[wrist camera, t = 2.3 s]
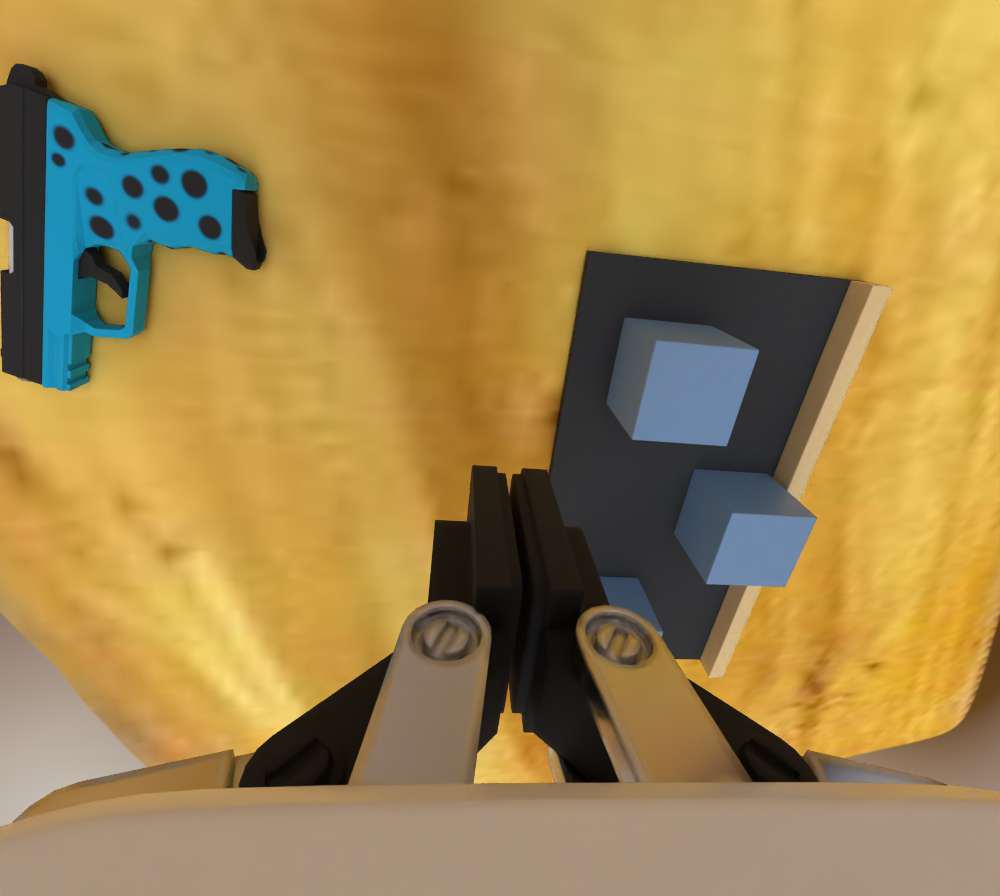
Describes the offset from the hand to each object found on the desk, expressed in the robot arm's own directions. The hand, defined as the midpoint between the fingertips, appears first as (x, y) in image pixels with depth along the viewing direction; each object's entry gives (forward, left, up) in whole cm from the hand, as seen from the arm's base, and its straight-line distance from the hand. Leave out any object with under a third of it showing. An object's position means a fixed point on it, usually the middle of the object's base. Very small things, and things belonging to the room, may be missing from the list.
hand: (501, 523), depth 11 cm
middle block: (+8, +15, -15) cm, 22 cm away
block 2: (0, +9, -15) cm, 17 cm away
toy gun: (-2, -16, -15) cm, 22 cm away
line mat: (+8, +11, -15) cm, 20 cm away
